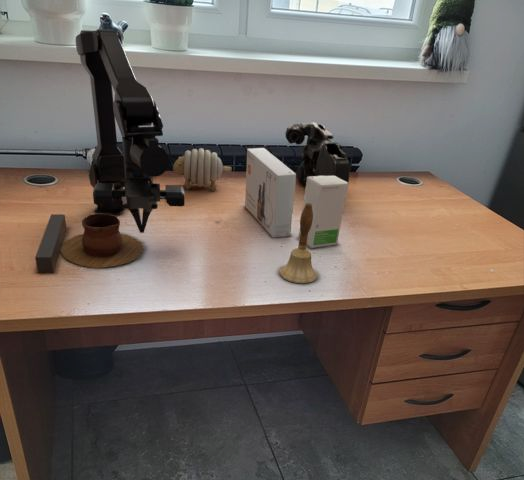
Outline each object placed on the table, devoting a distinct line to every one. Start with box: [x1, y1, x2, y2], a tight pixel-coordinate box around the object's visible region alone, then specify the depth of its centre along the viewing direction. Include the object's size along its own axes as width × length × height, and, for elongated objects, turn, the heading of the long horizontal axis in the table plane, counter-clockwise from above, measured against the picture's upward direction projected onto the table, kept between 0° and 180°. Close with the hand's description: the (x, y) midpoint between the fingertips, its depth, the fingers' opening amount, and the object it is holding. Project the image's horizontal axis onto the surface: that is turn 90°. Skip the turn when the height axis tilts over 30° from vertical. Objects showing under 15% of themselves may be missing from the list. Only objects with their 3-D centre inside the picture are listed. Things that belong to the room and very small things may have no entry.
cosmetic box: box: [297, 176, 349, 249], centre depth 124 cm, size 8×7×16 cm
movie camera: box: [284, 122, 350, 187], centre depth 153 cm, size 31×18×18 cm, turn 13°
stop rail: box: [34, 213, 68, 274], centre depth 112 cm, size 3×22×4 cm, turn 10°
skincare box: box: [244, 147, 297, 239], centre depth 132 cm, size 21×6×16 cm, turn 22°
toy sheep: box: [172, 147, 233, 192], centre depth 149 cm, size 11×17×11 cm, turn 99°
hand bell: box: [279, 203, 318, 284], centre depth 109 cm, size 8×8×16 cm
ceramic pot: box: [60, 212, 144, 269], centre depth 113 cm, size 18×18×7 cm
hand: (142, 232), depth 114 cm, fingers closed
